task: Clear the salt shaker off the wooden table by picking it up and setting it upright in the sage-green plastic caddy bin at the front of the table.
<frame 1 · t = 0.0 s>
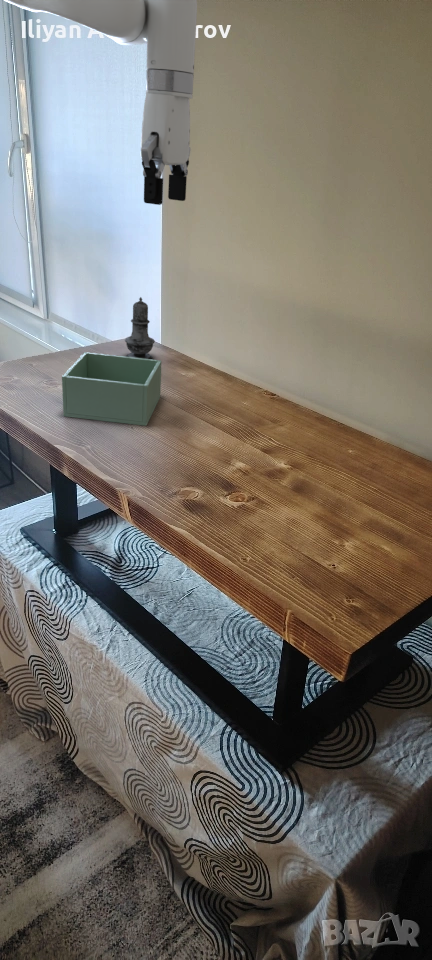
hand: (165, 201, 108), 29 cm above the table, tool pointing down, fingers open, 9 cm apart
salt shaker: (139, 358, 125), on the table
caddy: (114, 406, 103), on the table
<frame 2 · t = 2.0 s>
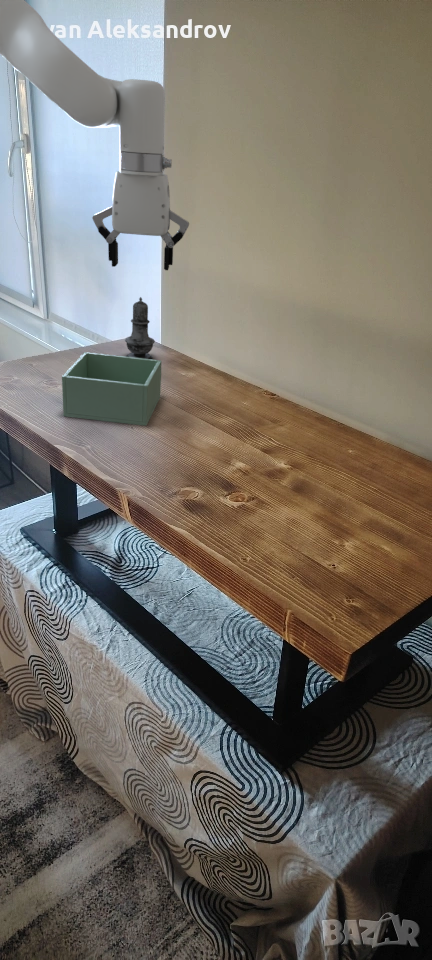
hand: (140, 267, 116), 18 cm above the table, tool pointing down, fingers open, 9 cm apart
nothing on the table moved.
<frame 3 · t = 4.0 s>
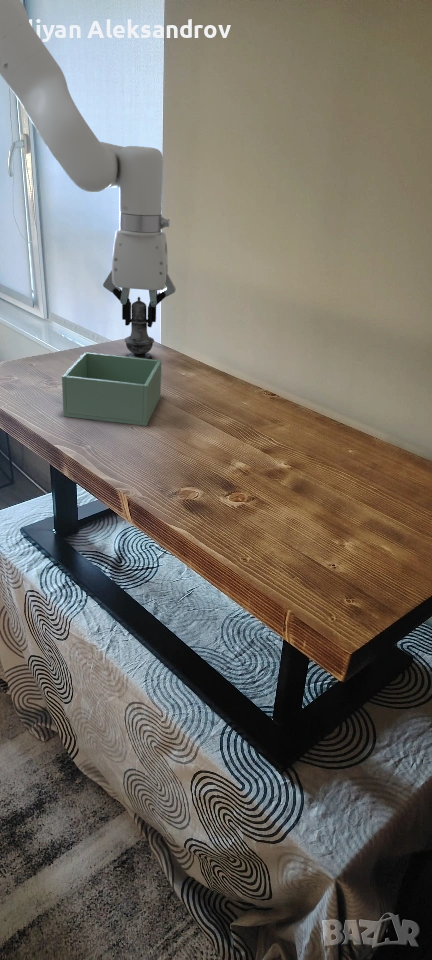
hand: (139, 323, 122), 7 cm above the table, tool pointing down, fingers closed on salt shaker, 3 cm apart
salt shaker: (139, 358, 125), on the table, touching gripper
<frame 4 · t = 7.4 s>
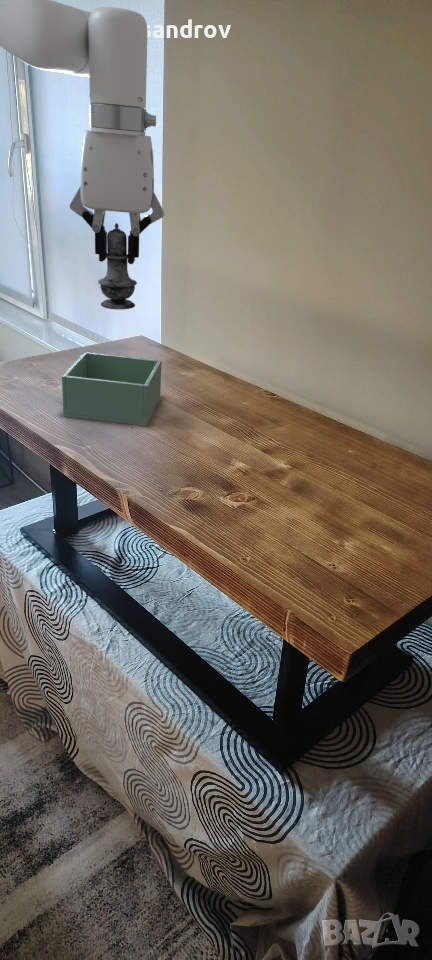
hand: (117, 259, 94), 23 cm above the table, tool pointing down, fingers closed on salt shaker, 3 cm apart
salt shaker: (118, 306, 98), point 16 cm above the table, touching gripper
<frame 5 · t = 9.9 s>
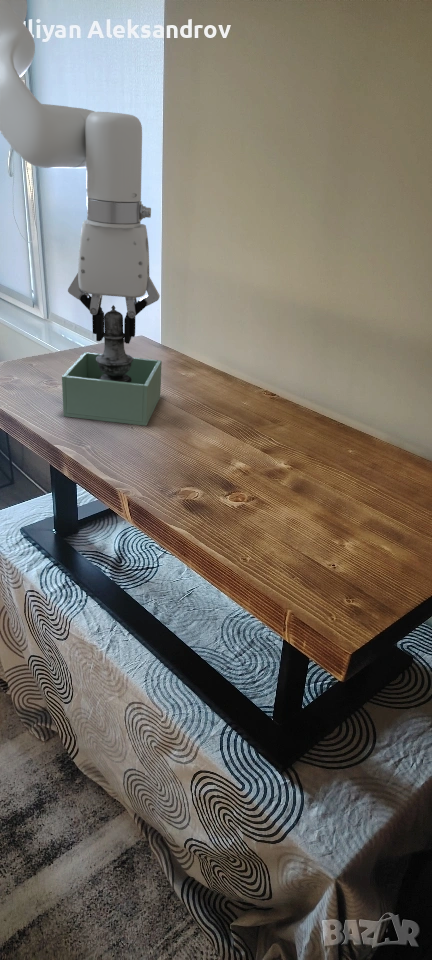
hand: (114, 338, 97), 11 cm above the table, tool pointing down, fingers closed on salt shaker, 3 cm apart
salt shaker: (115, 381, 101), point 4 cm above the table, touching gripper
when the fingers open (7 cm above the table, at t = 11.3 s): salt shaker stays where it is, resting on caddy.
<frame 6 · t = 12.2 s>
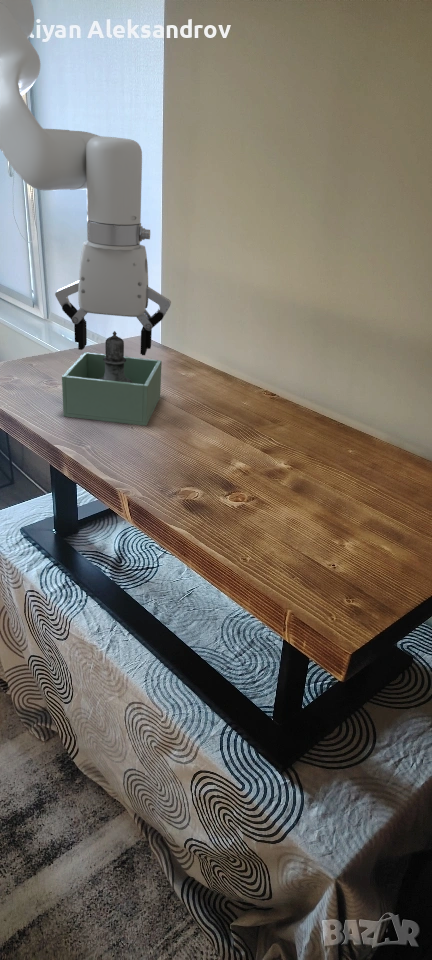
hand: (113, 349, 98), 10 cm above the table, tool pointing down, fingers open, 9 cm apart
salt shaker: (114, 404, 103), resting on caddy
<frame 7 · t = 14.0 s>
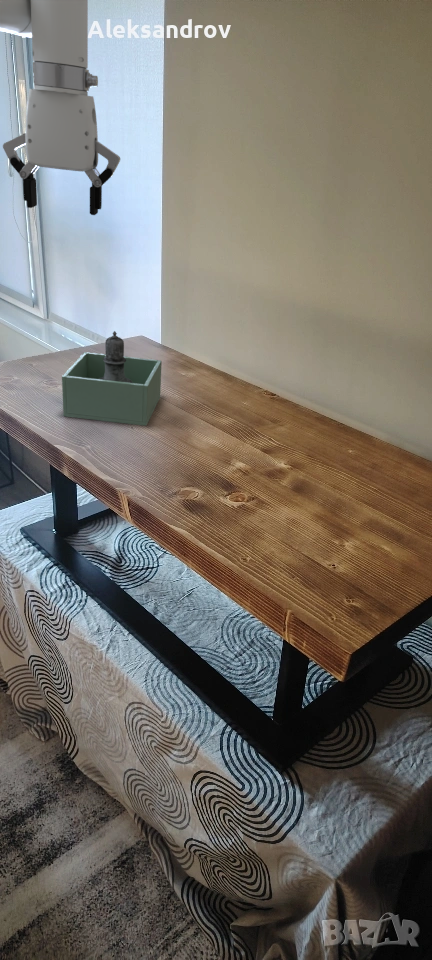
hand: (63, 210, 97), 28 cm above the table, tool pointing down, fingers open, 9 cm apart
nothing on the table moved.
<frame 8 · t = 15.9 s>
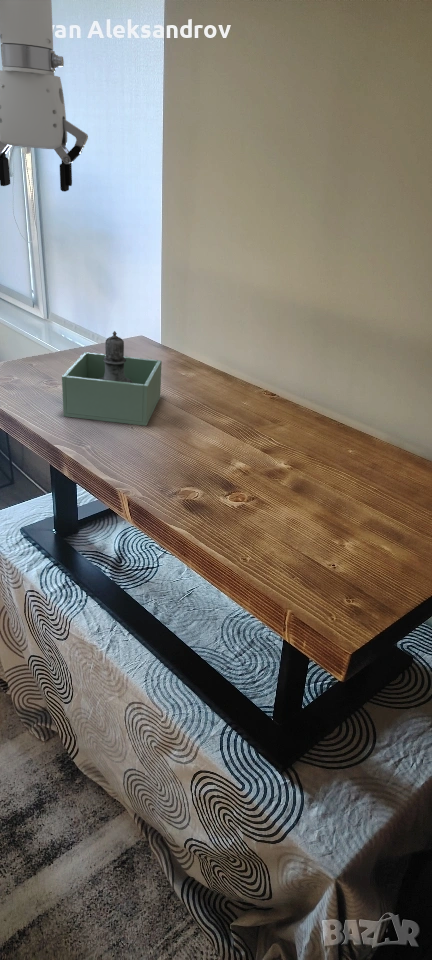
hand: (35, 188, 102), 30 cm above the table, tool pointing down, fingers open, 9 cm apart
nothing on the table moved.
at the end: salt shaker inside the target area in the caddy (0.1 cm from its centre), point 0.4 cm above the caddy's base; salt shaker tilted 0°; the gripper is holding nothing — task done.
